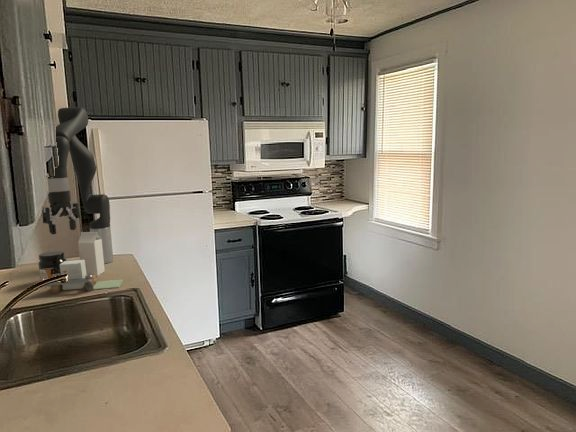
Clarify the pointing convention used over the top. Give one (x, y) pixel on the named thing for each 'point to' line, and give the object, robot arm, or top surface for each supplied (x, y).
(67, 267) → the small box
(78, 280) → the lever
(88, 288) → the cradle
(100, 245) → the milk carton
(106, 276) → the top surface
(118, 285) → the pad
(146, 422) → the top surface
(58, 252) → the supplement container
